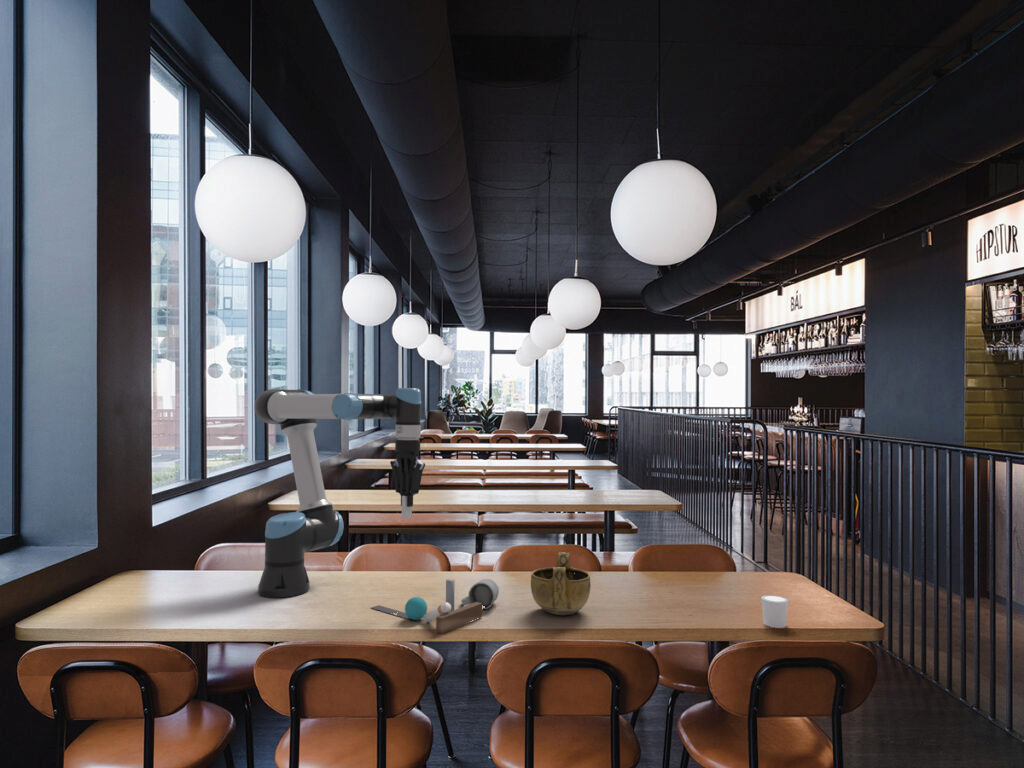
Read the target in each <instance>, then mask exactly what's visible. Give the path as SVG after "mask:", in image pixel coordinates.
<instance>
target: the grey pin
mask: <svg viewBox="0 0 1024 768" xmlns="http://www.w3.org/2000/svg"><path fill="white" fill-rule="evenodd" d="M455 583H456V582H455V579H454V578H448V579H446V580H445V603H446V602H448V603H449V604H450V605H451V611H453V610H455V591H456V589H455V586H456V585H455ZM449 612H450V611H449ZM447 613H448V612H447Z"/></svg>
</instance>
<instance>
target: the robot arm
mask: <svg viewBox="0 0 1024 768" xmlns="http://www.w3.org/2000/svg"><path fill="white" fill-rule="evenodd" d="M421 395H422V393H421V389H419V388H414V387H398V388H396V391H395V394H383V393H382V394H381V393H374V394H373V393H371V394H370V393H351V392H346V393H345V392H344V393H313V392H312V391H310V390H305V389H300V388H299V389H283V388H282V389H279V388H272V389H267V390H265V391H262V392H261V393H260V394H259V395H258V396H257V397H256V399H255V402H254V412H255V415H256V416H257V418H258V419H260V420H261V421H262V422H263V423H265V424H270V425H280V426H279V427H280V430H281V431H280V432H281V433H283V434H284V435H286V437H287V442H288V448H289V452H290V453H289V454H290V459H291V465H292V469H293V474H294V475H293V476H294V480H295V485H296V490H297V491H296V492H297V496H298V502H299V507H298V508H297V510H296V511H293V512H292V511H290V512H284V513H279V514H276V515H273V516H271V517H270V518H269V519H268V520H267V521H266V524H265V531H264V537H265V538H264V539H265V542H264V568H263V571H262V574H261V577H260V580H259V583H258V585H257V594H258V593H259V594H260V595H259V594H258V595H259V596H261V595H263V596H262V597H264V596H268V597H267V598H272V597H281V598H290V597H289V596H291V597H296V596H300V595H303V594H306V593H307V592H309V591H310V586H311V585H310V579H309V576H308V572H307V570H306V566H305V553H308V552H312V551H313V552H314V551H316V550H321V549H326V548H329V547H330V546H331V547H332V546H333V545H336V543H338V542H339V541H340V540H341V537H342V535H343V532H344V525H345V524H344V520H343V517H342V515H341V513H339V511H337V510H334V507H333V503H331V502H330V501H328V500H327V495H326V491H325V486H324V480H323V473H322V470H321V464H320V459H319V455H318V449H317V444H316V437H315V433H314V432H315V431H314V430H315V429H316V428H317V426H318V424H317V421H318V420H319V419H320V420H327V419H328V420H347V421H348V420H349V421H350V420H351V421H352V420H380V419H381V420H382V419H383V420H385V419H386V420H388V419H389V420H391V419H392V420H395V438H397V439H395V441H394V442H395V443H394V444H395V445H394V451H395V452H396V456H395V459H394V460H391V461H390V462H389V465H390V466H391V468H392V474H393V481H394V482H393V483H394V488H395V493H397V494H399V495H400V505H401V518H403V519H410V518H412V516H413V515H412V514H413V513H412V509H413V507H414V496H415V495H418V494H419V492H420V487H421V482H422V481H421V480H422V476H423V473H424V472H423V471H424V469H425V468H426V463H425V462H422V461H421V460H420V455H419V453H420V452H421V440H420V438H421V437H422V435H421V433H422V432H421V431H422V430H421V415H422V412H421V411H422V396H421ZM295 595H296V596H295Z"/></svg>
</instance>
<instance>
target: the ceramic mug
mask: <svg viewBox="0 0 1024 768" xmlns="http://www.w3.org/2000/svg"><path fill="white" fill-rule="evenodd" d="M499 593H500V590H499V586H498V583H497V582H495V581H494V580H492V579H490V578H483V579H481V580H479V581H478V582H475V584H473V585H471V587H470V589H469V591H468V594H467V595H468V596H466V597H464V598H462V599H461V600H460V602H461V604H462V605H463V606H467V605H469V604H472V603H475V602H479V603H482V605H483V606H485V608H483V609H486V610H488V609H489V608H491V606H492V605H493V604H494V603H495V601H496V600H497V599H498V598H499Z"/></svg>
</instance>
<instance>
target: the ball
mask: <svg viewBox="0 0 1024 768" xmlns="http://www.w3.org/2000/svg"><path fill="white" fill-rule="evenodd" d="M404 613H406V615H407V616H408V617H409V618H410V619H412V620H413V621H418V620H422V619H423V615H424V614H426V613H428V605H427V602H426V600H425V599H424V598H422V597H420V596H413V597H410V599H408V600H407V601H406V603H405V606H404ZM412 620H411V621H412Z"/></svg>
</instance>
